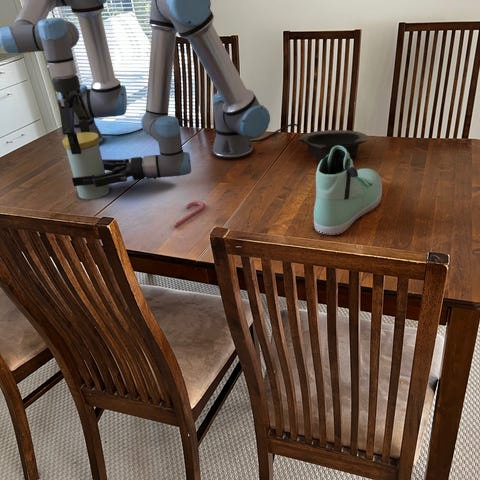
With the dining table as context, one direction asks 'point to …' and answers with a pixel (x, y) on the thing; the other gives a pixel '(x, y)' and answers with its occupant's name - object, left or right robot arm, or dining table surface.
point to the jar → (88, 170)
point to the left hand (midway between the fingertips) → (82, 147)
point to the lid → (83, 140)
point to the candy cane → (194, 213)
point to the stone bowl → (333, 142)
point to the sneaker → (343, 192)
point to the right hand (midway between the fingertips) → (76, 175)
